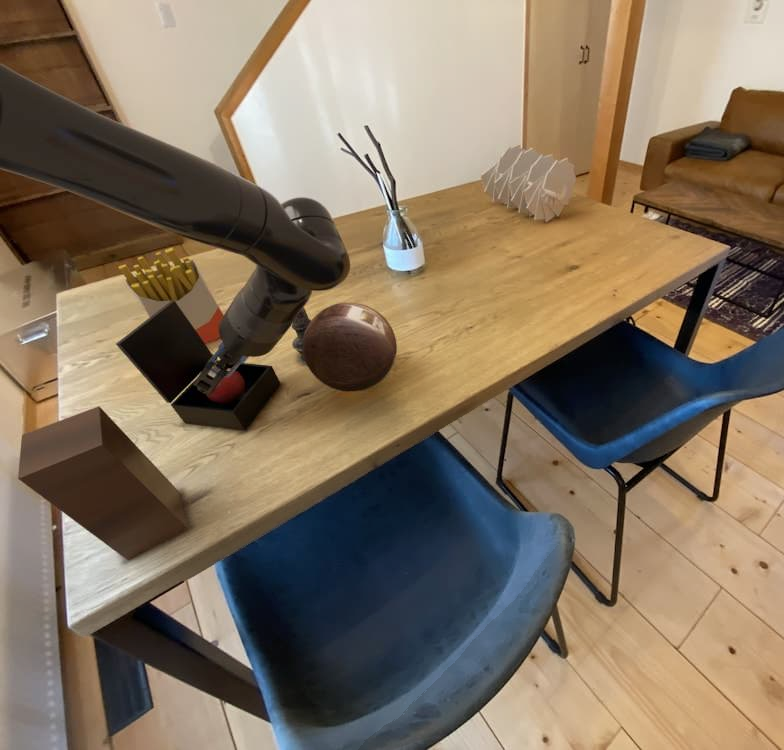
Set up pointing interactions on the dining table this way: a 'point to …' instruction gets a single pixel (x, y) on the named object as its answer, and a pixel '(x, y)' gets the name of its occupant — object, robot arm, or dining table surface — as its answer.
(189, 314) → the french fries container
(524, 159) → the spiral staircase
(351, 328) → the wooden sphere
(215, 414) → the box
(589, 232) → the dining table surface
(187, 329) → the box lid
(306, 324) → the grey chess piece
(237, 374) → the pomegranate
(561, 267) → the dining table surface
